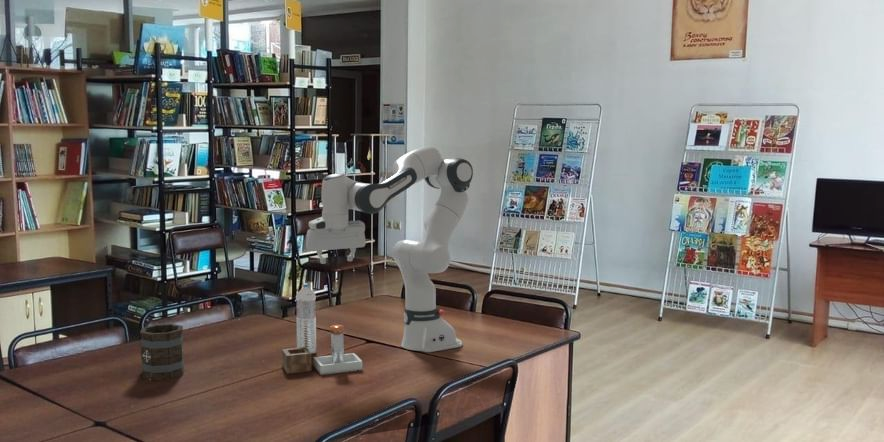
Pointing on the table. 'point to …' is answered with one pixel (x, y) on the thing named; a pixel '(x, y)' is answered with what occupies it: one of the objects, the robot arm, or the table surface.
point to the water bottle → (306, 319)
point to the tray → (337, 364)
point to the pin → (337, 343)
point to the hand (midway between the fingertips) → (336, 262)
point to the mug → (162, 351)
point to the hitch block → (296, 360)
